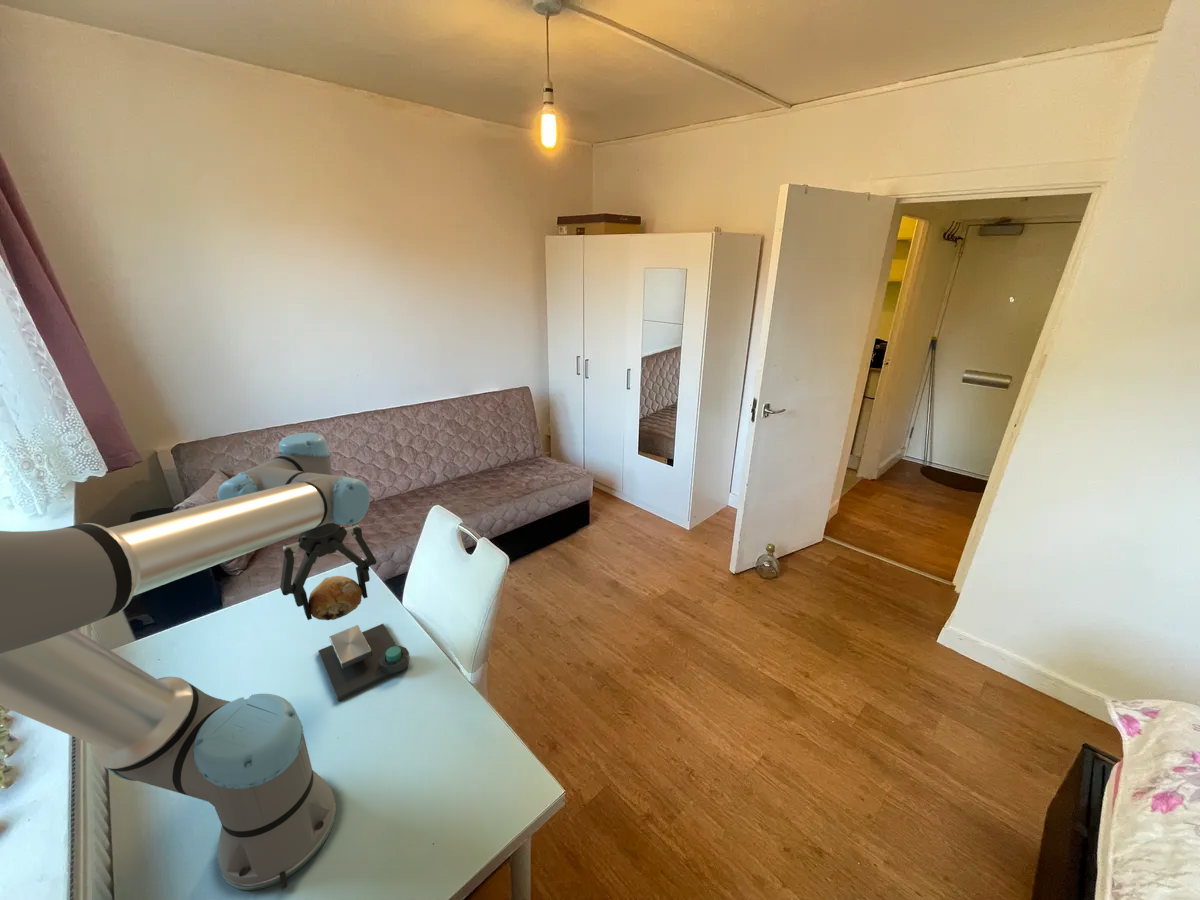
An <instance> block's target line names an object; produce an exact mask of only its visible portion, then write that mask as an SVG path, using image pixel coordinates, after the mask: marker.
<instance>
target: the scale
mask: <svg viewBox="0 0 1200 900" xmlns="http://www.w3.org/2000/svg"><path fill="white" fill-rule="evenodd" d="M361 632H362V634H363V635H364V637H365V639H366V641H367V643H368V645H369V647H370V649H371V650H372V656H370V657H368V658H366V659H364V660H361V661H359V662H357V663H355V664H353V665H350V666H348V667H346V668H344V669H342V667H341V665H340V662H339V660H338V658H337V656H336V653H335V651H334V649H333V647H332V644H331V645H328V646H325V647H324V648H321V649H319V650H318V655H319V658H320V660H321V662H322V666H323V667H324V670H325V674H326V675H327V678H328V681H329V684H330V685H331V688H332V691H333V693H334V695H335V697H336V701H337V702H341V701H343V700H345V699H347V698H349V697H351V696H353V695H355V694H358V693H359V692H362V691H364V690H366V689H368V688H370V687H372V686H374V685H376V684H378V683H380V682H382V681H385V680H387V679H388V678H390V677H393V676H394V675H396V674H399V673H401V672H403V671H404V670H407V669H408V668H409V666H408V665H409V663H410V660H411V659H410V652H409V650H408V648H407V647H405V646H402V645H397V644H396V643H395V641H394V639H393V638H392V635H391V634H390V632H389V631H388V629H387V628H386V626H385V624H384V623H381V624H379V625H375V626H374V627H371V628H369V629H367V630H364V631H361ZM394 646H397V647H399V648H400V649H401V658H400V660H398V661H397V662H394V663H389V662H388V661H387V659H386V651H387V650H388V649H389V648H391V647H394Z"/></svg>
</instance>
